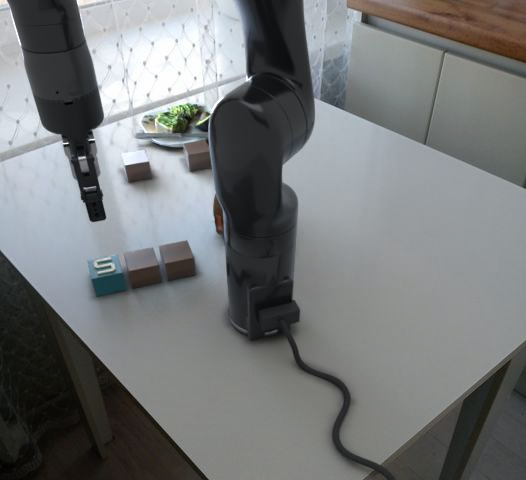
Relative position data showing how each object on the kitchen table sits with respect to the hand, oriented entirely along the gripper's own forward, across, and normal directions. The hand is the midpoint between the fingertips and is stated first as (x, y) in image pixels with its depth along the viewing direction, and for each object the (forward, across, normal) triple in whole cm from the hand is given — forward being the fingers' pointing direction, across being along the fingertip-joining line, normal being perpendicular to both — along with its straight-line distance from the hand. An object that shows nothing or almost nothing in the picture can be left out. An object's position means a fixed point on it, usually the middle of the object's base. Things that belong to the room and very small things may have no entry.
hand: (94, 202), depth 77 cm
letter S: (+14, +2, -1) cm, 14 cm away
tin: (+14, -9, +22) cm, 27 cm away
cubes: (+14, -29, +15) cm, 35 cm away
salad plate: (+14, -43, +22) cm, 50 cm away
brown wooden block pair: (+14, +2, +7) cm, 15 cm away
